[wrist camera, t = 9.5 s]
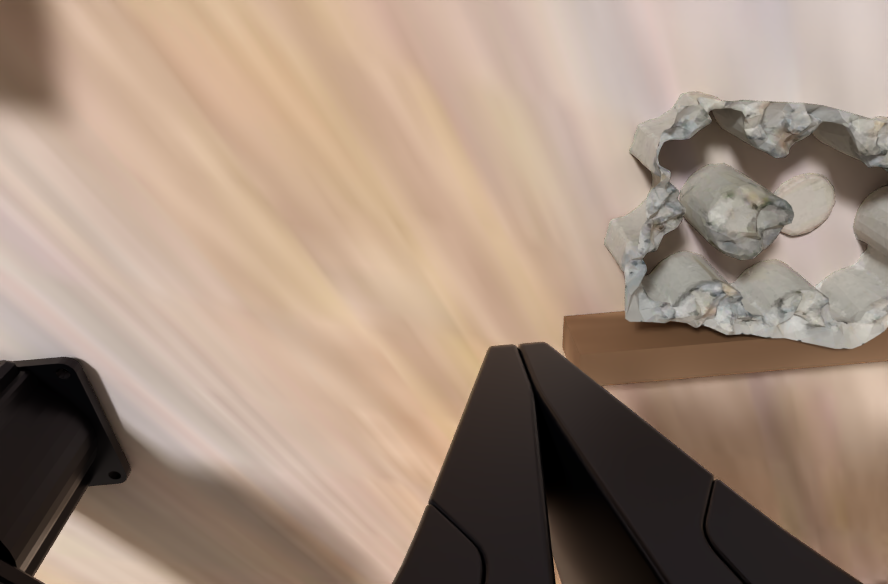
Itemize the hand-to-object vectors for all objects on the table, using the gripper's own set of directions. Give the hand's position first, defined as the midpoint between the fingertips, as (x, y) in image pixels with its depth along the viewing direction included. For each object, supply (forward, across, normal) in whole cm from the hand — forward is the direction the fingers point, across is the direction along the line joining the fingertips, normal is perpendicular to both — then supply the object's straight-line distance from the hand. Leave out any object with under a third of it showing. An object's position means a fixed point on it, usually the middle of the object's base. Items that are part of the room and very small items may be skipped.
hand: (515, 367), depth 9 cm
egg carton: (+12, -10, +3) cm, 16 cm away
